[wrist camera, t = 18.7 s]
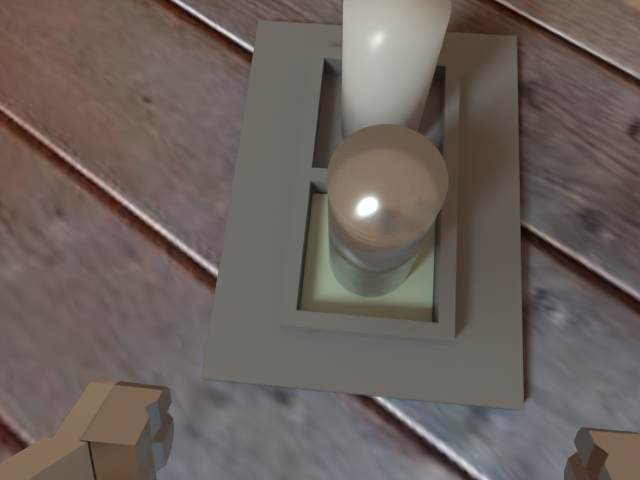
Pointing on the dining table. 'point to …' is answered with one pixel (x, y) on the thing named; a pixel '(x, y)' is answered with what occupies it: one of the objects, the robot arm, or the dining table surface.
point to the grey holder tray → (312, 214)
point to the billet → (381, 206)
